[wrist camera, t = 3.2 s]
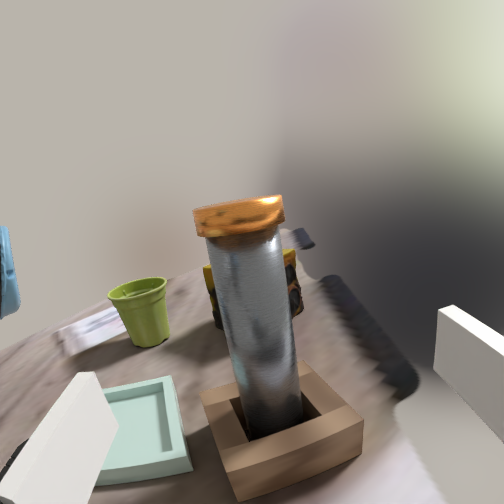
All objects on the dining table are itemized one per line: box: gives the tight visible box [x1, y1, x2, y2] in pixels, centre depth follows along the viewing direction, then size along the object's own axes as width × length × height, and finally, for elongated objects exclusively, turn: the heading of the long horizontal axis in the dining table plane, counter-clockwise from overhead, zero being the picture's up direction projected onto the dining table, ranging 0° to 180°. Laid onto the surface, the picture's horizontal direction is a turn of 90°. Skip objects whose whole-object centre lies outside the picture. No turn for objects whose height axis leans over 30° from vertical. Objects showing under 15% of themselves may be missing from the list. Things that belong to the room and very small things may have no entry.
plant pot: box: [107, 277, 170, 347], centre depth 46 cm, size 9×9×9 cm
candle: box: [203, 249, 304, 329], centre depth 48 cm, size 10×10×10 cm
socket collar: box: [199, 360, 364, 502], centre depth 23 cm, size 10×10×4 cm
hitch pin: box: [193, 195, 304, 441], centre depth 21 cm, size 5×5×20 cm
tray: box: [94, 375, 194, 486], centre depth 25 cm, size 13×13×2 cm
